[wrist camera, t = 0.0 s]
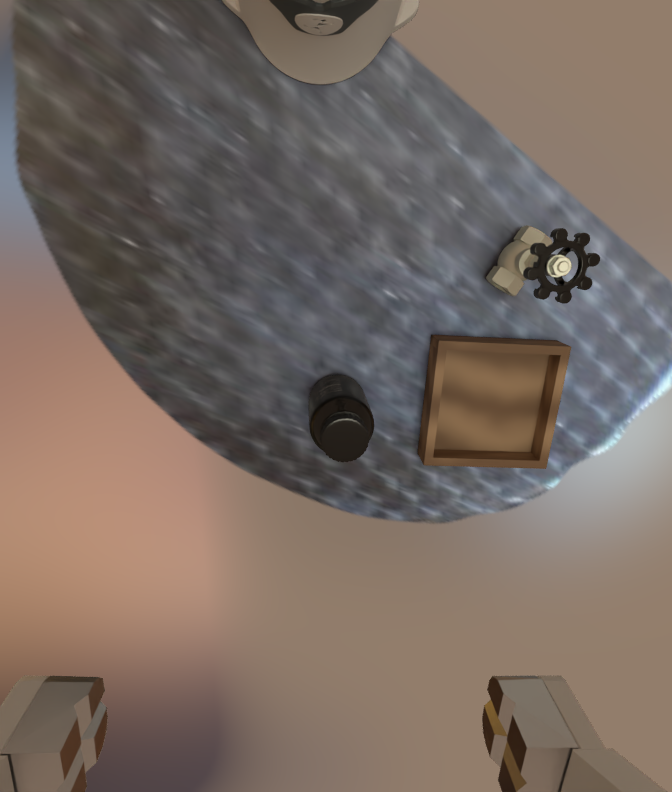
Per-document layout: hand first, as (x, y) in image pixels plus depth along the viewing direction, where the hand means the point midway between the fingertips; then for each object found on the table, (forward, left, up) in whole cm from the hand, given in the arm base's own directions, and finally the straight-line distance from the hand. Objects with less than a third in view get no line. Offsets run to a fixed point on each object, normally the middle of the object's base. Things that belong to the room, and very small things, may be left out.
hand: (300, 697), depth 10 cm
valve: (-8, +23, -48) cm, 54 cm away
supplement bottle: (+9, +4, -48) cm, 49 cm away
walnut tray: (+8, +22, -48) cm, 53 cm away
